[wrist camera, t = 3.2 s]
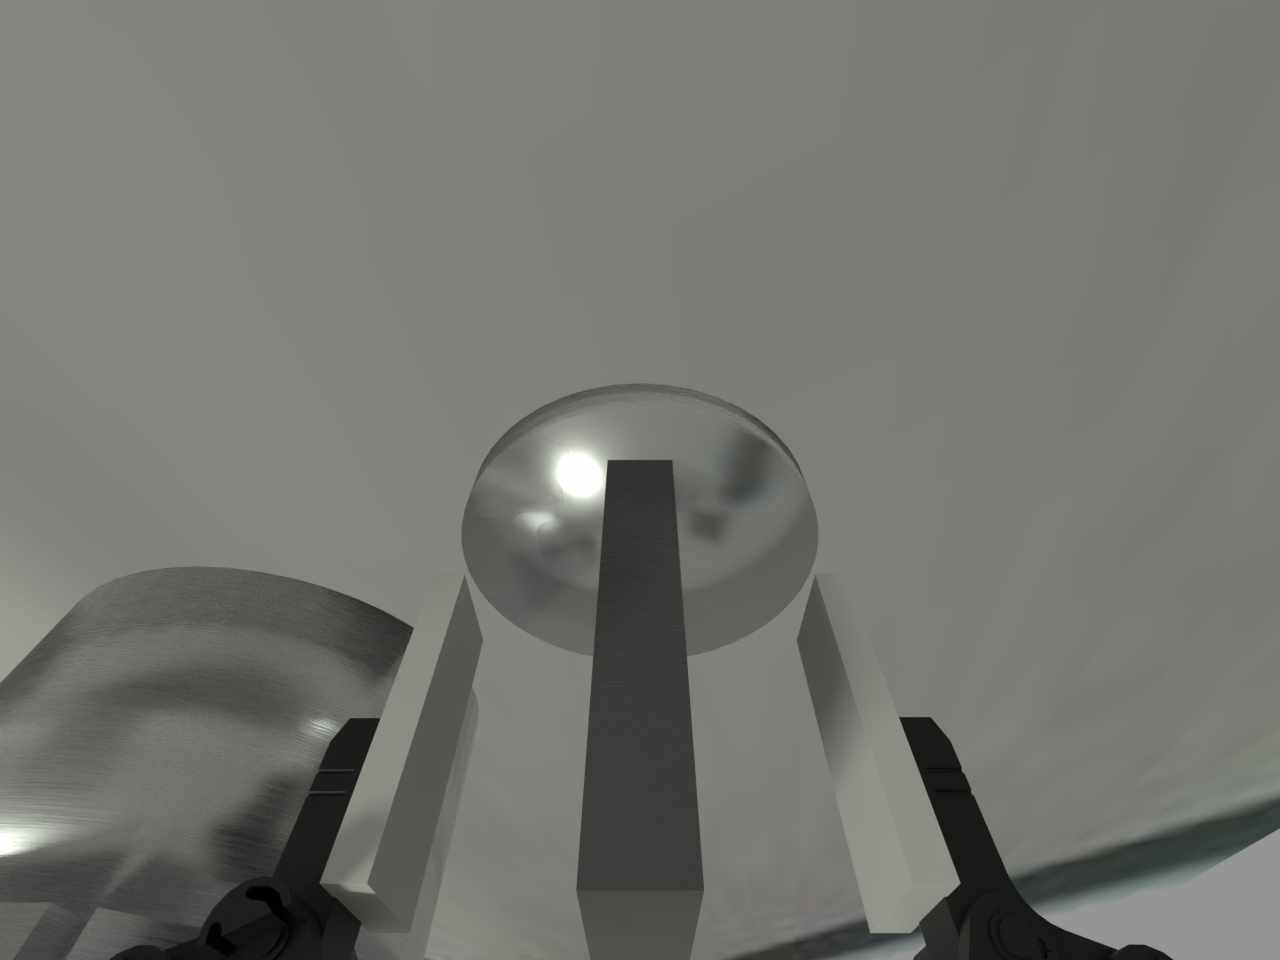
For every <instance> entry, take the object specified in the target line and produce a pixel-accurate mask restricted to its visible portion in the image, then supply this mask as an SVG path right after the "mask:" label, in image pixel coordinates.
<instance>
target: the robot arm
mask: <svg viewBox="0 0 1280 960" xmlns="http://www.w3.org/2000/svg"><path fill="white" fill-rule="evenodd" d="M482 644H483V637H482V634H481V630H480V626H479V623H478V619H477V616H476V612H475V609H474V605H473V601H472V598H471V594H470V591H469V587H468V584H467V580H466V576H465V574H434V576H433V578H432V581H431V584H430V587H429V589H428V592H427V595H426V597H425V600H424V603H423V605H422V608H421V611H420V614H419V616H418V619H417V622H416V624H415V627H414V630H413V632H412V635H411V638H410V641H409V643H408V646H407V649H406V651H405V654H404V657H403V659H402V662H401V665H400V667H399V670H398V673H397V676H396V678H395V681H394V684H393V686H392V689H391V692H390V694H389V697H388V700H387V703H386V705H385V708H384V711H383V713H382V716H381V718H350V719H349V720H348V721H347V722H346V723H345V725H344V726H343V727H342V728H341V729H340V731H339V732H338V733H337V734H336V735H335V736H334V738H333V739H332V740H331V741H330V743H329V746H328V748H327V750H326V753H325V755H324V757H323V760H322V762H321V764H320V767H319V772H318V774H316V776H315V778H314V781H313V783H312V785H311V788H310V790H309V791H310V792H309V795H308V796H307V797H306V799H305V802H304V804H303V806H302V809H301V811H300V813H299V816H298V818H297V820H296V823H295V825H294V827H293V830H292V832H291V834H290V837H289V839H288V841H287V844H286V846H285V848H284V851H283V853H282V855H281V858H280V860H279V862H278V865H277V867H276V869H275V872H274V874H273V876H272V877H268V876H261V877H258V878H254V879H250V880H247V881H245V882H244V883H242V884H240V885H239V886H237V887H236V888H234V889H232V890H231V891H229V892H228V893H227V894H226V895H225V896H224V897H223V898H222V899H221V900H220V902H219V903H218V904H217V905H216V906H215V907H214V908H213V909H212V911H211V913H210V914H209V916H208V918H207V919H206V921H205V923H204V924H203V926H202V928H201V931H200V935H199V937H198V938H195V939H193V940H190V941H187V942H185V943H182V944H179V945H177V946H174V947H171V948H168V949H166V950H161V949H159V948H157V947H155V946H153V945H136V946H134V947H131V948H129V949H127V950H124V951H122V952H119V953H117V954H116V955H115V956H113V957H112V958H111V959H109V960H358V958H357V955H356V951H355V948H354V946H355V943H356V940H357V937H358V933H359V930H360V927H361V925H362V926H363V927H364V928H365V929H366V930H367V931H368V932H369V933H410V930H411V926H412V922H413V918H414V914H415V910H416V906H417V902H418V898H419V894H420V890H421V886H422V882H423V878H424V874H425V870H426V866H427V862H428V858H429V854H430V850H431V846H432V843H433V839H434V835H435V831H436V827H437V823H438V819H439V815H440V811H441V807H442V803H443V799H444V795H445V791H446V787H447V783H448V779H449V775H450V771H451V767H452V763H453V759H454V755H455V751H456V747H457V743H458V739H459V735H460V731H461V727H462V723H463V719H464V715H465V712H466V708H467V704H468V700H469V696H470V692H471V688H472V684H473V680H474V676H475V672H476V668H477V664H478V660H479V656H480V652H481V648H482ZM797 644H798V648H799V652H800V656H801V660H802V664H803V668H804V672H805V676H806V680H807V684H808V688H809V692H810V696H811V700H812V704H813V708H814V712H815V716H816V720H817V723H818V727H819V731H820V735H821V739H822V743H823V747H824V751H825V755H826V759H827V763H828V767H829V771H830V775H831V779H832V783H833V787H834V791H835V795H836V799H837V803H838V807H839V811H840V815H841V819H842V823H843V827H844V831H845V835H846V839H847V843H848V847H849V850H850V854H851V858H852V862H853V866H854V870H855V874H856V878H857V882H858V886H859V890H860V894H861V898H862V902H863V906H864V910H865V914H866V918H867V922H868V926H869V930H870V933H911V932H912V931H913V930H914V929H915V928H916V927H917V926H918V925H919V924H920V927H921V931H922V934H923V937H924V940H925V944H926V946H925V947H924V948H923V949H922V950H921V951H920V952H919V953H917V954H916V955H915V956H914V958H913V960H1173V959H1172V958H1170V957H1169V956H1168V955H1166V954H1165V953H1164V952H1162V951H1159V950H1157V949H1154V948H1152V947H1150V946H1147V945H1142V944H1129V945H1127V946H1125V947H1123V948H1121V949H1119V950H1117V949H1115V948H1112V947H1109V946H1107V945H1104V944H1101V943H1099V942H1096V941H1093V940H1090V939H1088V938H1085V937H1082V936H1080V935H1077V934H1074V933H1072V932H1069V931H1066V930H1064V929H1062V928H1060V927H1058V926H1056V925H1054V924H1052V923H1050V922H1049V921H1047V920H1046V919H1044V918H1043V917H1042V916H1040V915H1039V914H1038V913H1037V912H1035V911H1034V910H1033V909H1032V908H1031V907H1030V906H1029V905H1028V904H1027V903H1026V902H1025V900H1024V899H1023V898H1022V896H1021V895H1020V894H1019V892H1018V891H1017V890H1016V889H1015V887H1014V885H1013V883H1012V881H1011V879H1010V877H1009V875H1008V873H1007V871H1006V869H1005V866H1004V864H1003V862H1002V859H1001V857H1000V855H999V852H998V850H997V848H996V845H995V843H994V841H993V838H992V836H991V834H990V831H989V829H988V827H987V824H986V822H985V820H984V817H983V815H982V813H981V810H980V808H979V806H978V803H977V801H976V799H975V797H974V795H972V793H971V787H970V785H969V783H968V780H967V778H966V776H965V773H963V772H962V766H961V764H960V762H959V759H958V757H957V755H956V752H955V750H954V748H953V745H952V743H951V741H950V739H949V738H948V737H947V736H946V735H945V734H944V732H943V731H942V730H941V729H940V728H939V726H938V725H937V724H936V723H935V722H934V720H933V719H932V718H931V717H899V716H898V713H897V711H896V708H895V705H894V703H893V700H892V697H891V694H890V692H889V689H888V686H887V684H886V681H885V678H884V676H883V673H882V670H881V668H880V665H879V662H878V659H877V657H876V654H875V651H874V649H873V646H872V643H871V641H870V638H869V635H868V632H867V630H866V627H865V624H864V622H863V619H862V616H861V614H860V611H859V608H858V605H857V603H856V600H855V597H854V595H853V592H852V589H851V587H850V584H849V581H848V579H847V576H846V574H815V576H814V580H813V583H812V587H811V591H810V594H809V598H808V601H807V605H806V609H805V612H804V616H803V619H802V623H801V626H800V630H799V634H798V637H797Z"/></svg>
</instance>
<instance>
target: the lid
mask: <svg viewBox="0 0 1280 960" xmlns="http://www.w3.org/2000/svg"><path fill="white" fill-rule="evenodd" d="M818 542H819V541H818V521H817V516H816V511H815V507H814V504H813V501H812V498H811V496H810V493H809V490H808V487H807V485H806V482H805V479H804V477H803V474H802V472H801V469H800V467H799V464H798V463H797V461H796V459H795V458H794V456H793V455H792V453H791V451H790V450H789V448H788V447H787V446H786V445H785V444H784V443H783V441H782V440H781V439H780V438H779V437H778V436H777V435H776V433H775V432H773V431H772V430H771V429H770V428H769V427H767V426H766V425H765V424H764V423H763V422H761V421H760V420H759V419H758V418H756V417H755V416H753V415H751V414H750V413H748V412H746V411H745V410H743V409H742V408H740V407H738V406H736V405H734V404H732V403H729V402H727V401H725V400H723V399H720V398H718V397H716V396H712V395H709V394H706V393H702V392H699V391H696V390H693V389H687V388H682V387H676V386H670V385H661V384H644V383H636V384H619V385H610V386H604V387H598V388H593V389H587V390H584V391H581V392H577V393H574V394H571V395H568V396H564V397H562V398H560V399H557V400H555V401H553V402H551V403H548V404H546V405H544V406H542V407H540V408H538V409H537V410H535V411H534V412H532V413H530V414H529V415H527V416H525V417H524V418H522V419H521V420H520V421H518V422H517V423H516V424H515V425H514V426H513V427H511V428H510V429H509V430H508V431H507V432H505V433H504V434H503V436H502V437H501V438H500V439H499V440H498V441H497V442H496V444H495V445H494V446H493V447H492V448H491V450H490V451H489V453H488V455H487V456H486V458H485V459H484V461H483V463H482V464H481V467H480V469H479V472H478V474H477V477H476V479H475V482H474V484H473V487H472V490H471V493H470V496H469V498H468V501H467V504H466V507H465V511H464V516H463V521H462V536H461V543H462V548H463V554H464V559H465V562H466V564H467V567H468V570H469V573H470V575H471V577H472V578H473V580H474V582H475V584H476V586H477V587H478V589H479V590H480V592H481V593H482V594H483V595H484V597H485V598H486V599H487V601H488V602H489V603H490V604H491V605H492V606H493V607H494V608H495V609H496V610H497V611H498V612H499V613H500V614H501V615H503V616H504V617H505V618H506V619H508V620H509V621H510V622H512V623H513V624H514V625H516V626H517V627H519V628H520V629H522V630H524V631H525V632H527V633H529V634H530V635H532V636H534V637H536V638H538V639H540V640H542V641H544V642H546V643H549V644H552V645H554V646H557V647H559V648H562V649H565V650H568V651H572V652H575V653H579V654H582V655H587V656H593V666H592V680H591V694H590V707H589V721H588V735H587V748H586V762H585V776H584V789H583V803H582V817H581V831H580V844H579V858H578V872H577V885H576V892H577V897H578V902H579V907H580V912H581V917H582V922H583V926H584V931H585V936H586V941H587V946H588V951H589V955H590V960H690V957H691V952H692V947H693V942H694V938H695V933H696V928H697V923H698V918H699V913H700V909H701V904H702V899H703V894H704V880H703V867H702V853H701V840H700V826H699V813H698V799H697V786H696V772H695V759H694V745H693V732H692V718H691V705H690V691H689V678H688V664H687V656H692V655H697V654H701V653H704V652H708V651H712V650H715V649H718V648H720V647H723V646H726V645H728V644H731V643H733V642H736V641H738V640H740V639H742V638H744V637H746V636H748V635H750V634H751V633H753V632H755V631H756V630H758V629H760V628H761V627H763V626H764V625H766V624H767V623H768V622H770V621H771V620H772V619H773V618H775V617H776V616H777V615H779V614H780V613H781V612H782V611H783V610H784V609H785V608H786V607H787V606H788V605H789V604H790V603H791V602H792V600H793V599H794V598H795V597H796V595H797V594H798V593H799V591H800V590H801V589H802V587H803V585H804V584H805V582H806V580H807V578H808V577H809V575H810V572H811V570H812V567H813V564H814V561H815V559H816V553H817V548H818Z"/></svg>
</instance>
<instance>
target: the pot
mask: <svg viewBox="0 0 1280 960" xmlns="http://www.w3.org/2000/svg"><path fill="white" fill-rule="evenodd" d="M413 630H414V628H413V627H412V626H410V625H409V624H407V623H405V622H403V621H401V620H400V619H398V618H396V617H394V616H392V615H391V614H389V613H387V612H385V611H383V610H381V609H379V608H377V607H374V606H372V605H370V604H368V603H365V602H363V601H361V600H359V599H357V598H354V597H351V596H348V595H346V594H343V593H340V592H337V591H335V590H332V589H329V588H326V587H323V586H319V585H316V584H312V583H308V582H305V581H301V580H298V579H294V578H289V577H284V576H279V575H274V574H269V573H264V572H258V571H250V570H242V569H234V568H223V567H200V566H194V567H172V568H162V569H155V570H149V571H142V572H137V573H134V574H130V575H127V576H123V577H120V578H116V579H114V580H112V581H110V582H107V583H105V584H103V585H101V586H99V587H97V588H95V589H94V590H93V591H91V592H90V593H88V594H87V595H86V596H84V597H83V598H82V599H81V600H80V601H79V602H78V603H77V604H76V605H75V606H74V607H73V608H72V609H71V610H70V611H69V612H68V613H67V614H66V615H65V616H64V617H63V618H62V619H61V620H60V622H59V623H58V624H57V625H56V626H55V627H54V628H53V629H52V630H51V631H50V632H49V633H48V634H47V635H46V636H45V637H44V638H43V639H42V640H41V641H40V642H39V643H38V644H37V645H36V646H35V647H34V648H33V650H32V651H31V652H30V653H29V654H28V655H27V656H26V657H25V658H24V659H23V660H22V661H21V662H20V663H19V664H18V665H17V666H16V667H15V668H14V669H13V670H12V671H11V672H10V673H9V674H8V675H7V677H6V678H5V679H4V680H3V681H2V682H1V683H0V960H109V959H111V958H112V957H113V956H115V955H116V954H117V953H119V952H122V951H124V950H127V949H129V948H131V947H134V946H136V945H153V946H155V947H157V948H159V949H161V950H166V949H168V948H171V947H174V946H177V945H179V944H182V943H185V942H187V941H190V940H193V939H195V938H198V937H199V935H200V931H201V928H202V926H203V924H204V923H205V921H206V919H207V918H208V916H209V914H210V913H211V911H212V909H213V908H214V907H215V906H216V905H217V904H218V903H219V902H220V900H221V899H222V898H223V897H224V896H225V895H226V894H227V893H228V892H229V891H231V890H232V889H234V888H236V887H237V886H239V885H240V884H242V883H244V882H245V881H247V880H250V879H254V878H258V877H261V876H268V877H272V876H273V874H274V872H275V869H276V867H277V865H278V862H279V860H280V858H281V855H282V853H283V851H284V848H285V846H286V844H287V841H288V839H289V837H290V834H291V832H292V830H293V827H294V825H295V823H296V820H297V818H298V816H299V813H300V811H301V809H302V806H303V804H304V802H305V799H306V797H307V796H308V795H309V792H310V791H309V790H310V788H311V785H312V783H313V781H314V778H315V776H316V774H318V772H319V767H320V764H321V762H322V760H323V757H324V755H325V753H326V750H327V748H328V746H329V743H330V741H331V740H332V739H333V738H334V736H335V735H336V734H337V733H338V732H339V731H340V729H341V728H342V727H343V726H344V725H345V723H346V722H347V721H348V720H349V719H350V718H381V716H382V713H383V711H384V708H385V705H386V703H387V700H388V697H389V694H390V692H391V689H392V686H393V684H394V681H395V678H396V676H397V673H398V670H399V667H400V665H401V662H402V659H403V657H404V654H405V651H406V649H407V646H408V643H409V641H410V638H411V635H412V632H413ZM478 720H479V707H478V702H477V697H476V694H475V692H474V690H473V688H471V692H470V696H469V700H468V704H467V708H466V712H465V715H464V719H463V723H462V727H461V731H460V735H459V739H458V743H457V747H456V751H455V755H454V759H453V763H452V767H451V771H450V775H449V779H448V783H447V787H446V791H445V795H444V799H443V803H442V807H441V811H440V815H439V819H438V823H437V827H436V831H435V835H434V839H433V843H432V846H431V850H430V854H429V858H428V862H427V866H426V870H425V874H424V878H423V882H422V886H421V890H420V894H419V898H418V902H417V906H416V910H415V914H414V918H413V922H412V926H411V930H410V933H369V932H368V931H367V930H366V929H365V928H364V927H363V926H362V925H361V927H360V930H359V933H358V937H357V940H356V943H355V946H354V948H355V951H356V955H357V958H358V960H424V956H425V952H426V947H427V943H428V939H429V934H430V930H431V926H432V921H433V917H434V913H435V908H436V904H437V899H438V895H439V891H440V886H441V882H442V878H443V873H444V869H445V865H446V860H447V856H448V852H449V847H450V843H451V839H452V834H453V830H454V826H455V821H456V817H457V813H458V808H459V804H460V799H461V795H462V791H463V786H464V782H465V778H466V773H467V769H468V765H469V760H470V756H471V752H472V747H473V743H474V739H475V734H476V730H477V726H478Z"/></svg>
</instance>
